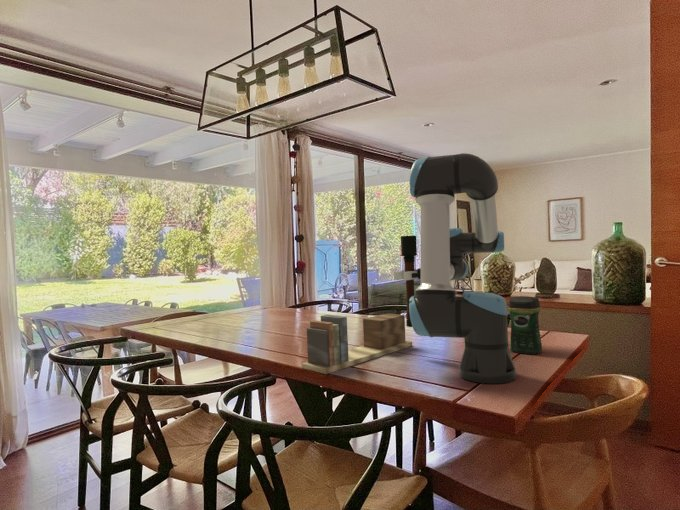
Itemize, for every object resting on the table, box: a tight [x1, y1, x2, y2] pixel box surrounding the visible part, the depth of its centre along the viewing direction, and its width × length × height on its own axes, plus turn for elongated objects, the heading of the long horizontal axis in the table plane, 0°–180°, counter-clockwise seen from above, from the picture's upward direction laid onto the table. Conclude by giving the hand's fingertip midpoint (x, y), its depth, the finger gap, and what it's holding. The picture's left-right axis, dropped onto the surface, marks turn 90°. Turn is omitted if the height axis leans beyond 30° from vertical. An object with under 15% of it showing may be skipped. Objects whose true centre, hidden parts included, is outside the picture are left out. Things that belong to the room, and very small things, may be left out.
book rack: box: [301, 314, 413, 375], centre depth 152 cm, size 44×11×16 cm, turn 135°
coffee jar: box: [508, 295, 543, 355], centre depth 148 cm, size 10×8×19 cm
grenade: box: [400, 235, 419, 328], centre depth 147 cm, size 6×6×30 cm
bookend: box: [362, 312, 407, 350], centre depth 161 cm, size 14×8×10 cm, turn 135°
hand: (399, 276), depth 143 cm, fingers closed on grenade, 3 cm apart
